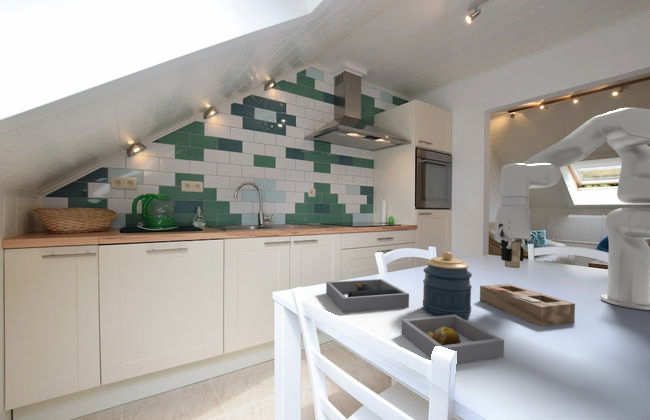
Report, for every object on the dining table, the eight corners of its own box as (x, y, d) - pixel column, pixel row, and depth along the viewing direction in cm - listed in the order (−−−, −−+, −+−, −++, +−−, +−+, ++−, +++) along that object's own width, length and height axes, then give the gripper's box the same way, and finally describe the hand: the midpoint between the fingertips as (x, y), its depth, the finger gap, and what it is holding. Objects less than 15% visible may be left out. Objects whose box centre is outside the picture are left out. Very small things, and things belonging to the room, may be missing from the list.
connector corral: (381, 289, 103) (381, 279, 103) (408, 307, 85) (409, 293, 85) (326, 293, 97) (326, 282, 97) (343, 312, 80) (343, 298, 80)
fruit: (419, 334, 68) (419, 319, 68) (456, 338, 66) (456, 323, 66) (422, 351, 60) (422, 334, 60) (465, 356, 58) (465, 339, 58)
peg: (511, 265, 92) (512, 240, 92) (522, 267, 88) (523, 242, 88) (501, 265, 91) (502, 240, 91) (512, 268, 87) (513, 242, 87)
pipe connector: (341, 282, 93) (382, 280, 97) (340, 298, 93) (381, 295, 97) (353, 294, 81) (399, 291, 86) (353, 312, 82) (399, 308, 86)
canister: (476, 312, 82) (478, 252, 82) (462, 325, 73) (464, 257, 72) (432, 301, 91) (434, 247, 91) (414, 311, 82) (416, 251, 81)
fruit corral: (454, 328, 71) (454, 314, 71) (503, 357, 57) (503, 340, 57) (401, 334, 67) (401, 319, 67) (440, 367, 53) (441, 348, 53)
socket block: (508, 298, 96) (508, 282, 96) (574, 321, 76) (575, 302, 76) (479, 300, 92) (480, 284, 92) (541, 326, 73) (541, 305, 73)
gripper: (523, 203, 95) (521, 257, 95) (483, 202, 91) (481, 259, 91) (546, 203, 88) (543, 262, 88) (503, 202, 83) (501, 263, 84)
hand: (512, 259), depth 89 cm, fingers closed on peg, 4 cm apart
